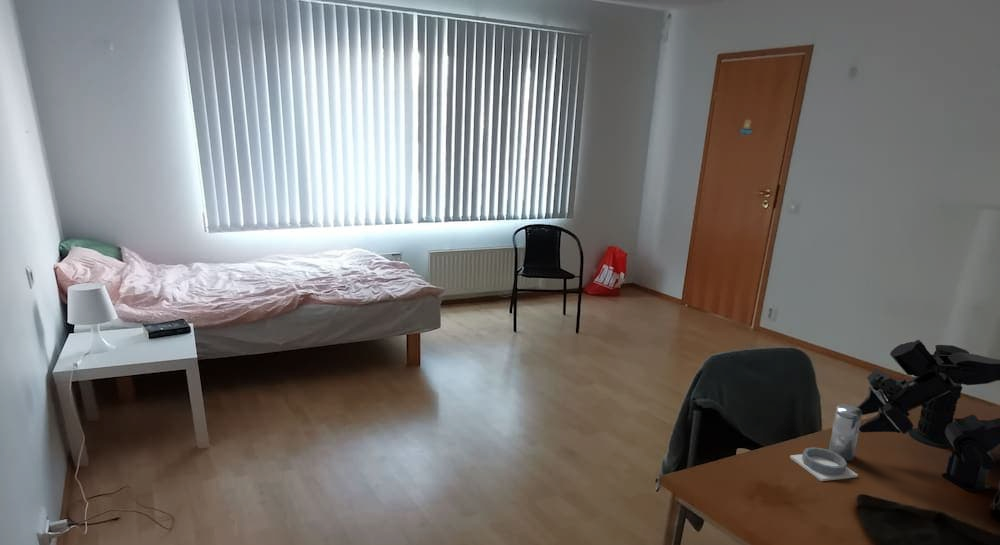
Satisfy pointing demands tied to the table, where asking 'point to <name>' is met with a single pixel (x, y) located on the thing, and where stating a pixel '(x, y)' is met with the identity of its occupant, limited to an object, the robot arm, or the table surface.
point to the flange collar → (824, 464)
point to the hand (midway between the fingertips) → (856, 422)
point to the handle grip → (937, 411)
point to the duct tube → (845, 431)
